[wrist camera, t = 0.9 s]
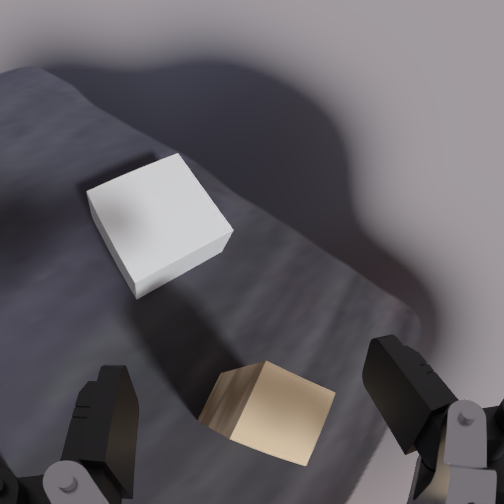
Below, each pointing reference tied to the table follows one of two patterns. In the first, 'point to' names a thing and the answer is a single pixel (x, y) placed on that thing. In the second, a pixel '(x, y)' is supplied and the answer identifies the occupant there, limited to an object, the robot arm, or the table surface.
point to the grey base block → (157, 223)
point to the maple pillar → (268, 410)
